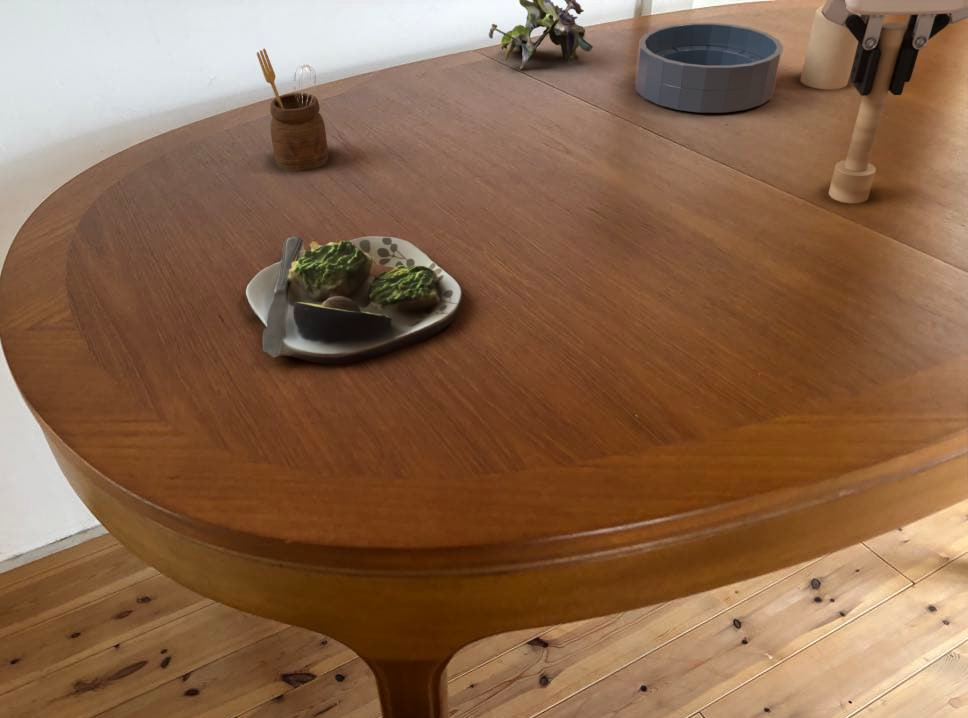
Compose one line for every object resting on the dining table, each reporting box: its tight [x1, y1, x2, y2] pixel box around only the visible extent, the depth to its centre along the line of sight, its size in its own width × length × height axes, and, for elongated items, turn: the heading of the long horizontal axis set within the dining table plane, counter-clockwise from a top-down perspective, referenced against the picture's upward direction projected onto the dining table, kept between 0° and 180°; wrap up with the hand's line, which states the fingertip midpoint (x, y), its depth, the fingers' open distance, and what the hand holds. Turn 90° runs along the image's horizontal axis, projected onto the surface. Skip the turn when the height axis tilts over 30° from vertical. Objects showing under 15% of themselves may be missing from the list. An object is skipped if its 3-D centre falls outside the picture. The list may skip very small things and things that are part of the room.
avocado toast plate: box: [245, 235, 463, 365], centre depth 75 cm, size 19×18×5 cm
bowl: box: [634, 22, 784, 114], centre depth 108 cm, size 16×16×6 cm
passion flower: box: [488, 0, 594, 71], centre depth 117 cm, size 11×11×12 cm
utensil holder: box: [256, 47, 329, 172], centre depth 95 cm, size 6×6×12 cm
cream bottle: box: [800, 0, 860, 90], centre depth 107 cm, size 6×6×10 cm
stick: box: [828, 21, 906, 204], centre depth 82 cm, size 4×4×16 cm
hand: (876, 88), depth 80 cm, fingers closed on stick, 2 cm apart
